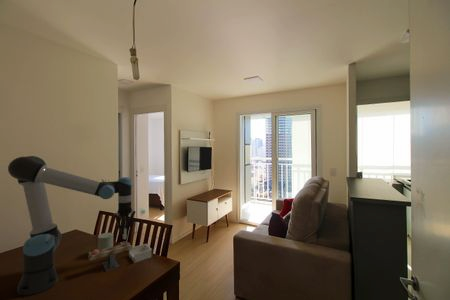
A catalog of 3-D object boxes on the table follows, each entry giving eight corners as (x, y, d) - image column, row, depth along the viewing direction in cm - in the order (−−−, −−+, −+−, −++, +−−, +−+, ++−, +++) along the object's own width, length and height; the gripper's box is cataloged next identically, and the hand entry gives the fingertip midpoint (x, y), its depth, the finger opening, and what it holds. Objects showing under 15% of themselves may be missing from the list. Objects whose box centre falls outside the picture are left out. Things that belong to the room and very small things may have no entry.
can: (108, 256, 136) (108, 237, 136) (94, 255, 136) (94, 237, 136) (116, 249, 145) (116, 232, 145) (102, 249, 145) (103, 231, 145)
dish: (134, 263, 128) (134, 254, 128) (128, 256, 136) (128, 248, 136) (152, 257, 135) (152, 249, 135) (145, 251, 143) (146, 243, 143)
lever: (89, 262, 116) (89, 255, 116) (86, 254, 125) (86, 247, 125) (132, 251, 130) (132, 244, 130) (126, 244, 139) (126, 238, 139)
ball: (92, 257, 117) (92, 251, 117) (91, 255, 120) (91, 249, 120) (99, 255, 119) (99, 249, 119) (98, 253, 122) (98, 247, 122)
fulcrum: (106, 271, 118) (106, 257, 119) (102, 264, 126) (102, 250, 126) (119, 267, 123) (119, 253, 123) (115, 260, 131) (115, 247, 131)
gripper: (115, 204, 129) (114, 243, 129) (137, 201, 137) (137, 237, 137) (112, 202, 135) (111, 239, 135) (133, 199, 143) (133, 234, 143)
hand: (124, 238), depth 136 cm, fingers closed
